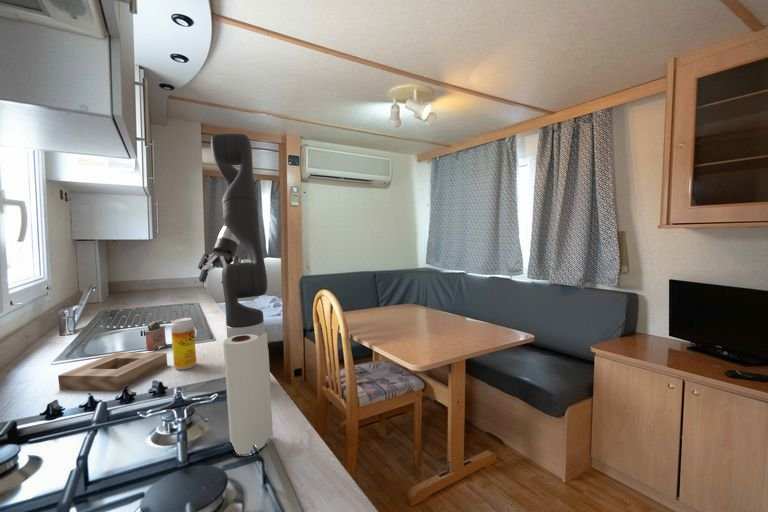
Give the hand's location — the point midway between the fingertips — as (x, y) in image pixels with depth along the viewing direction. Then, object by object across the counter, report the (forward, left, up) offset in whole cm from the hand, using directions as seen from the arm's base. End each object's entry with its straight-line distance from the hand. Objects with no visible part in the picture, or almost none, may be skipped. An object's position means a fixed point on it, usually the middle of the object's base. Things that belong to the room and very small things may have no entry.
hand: (212, 283), depth 120 cm
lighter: (+27, -4, -25) cm, 37 cm away
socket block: (+19, +21, -25) cm, 37 cm away
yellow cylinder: (+3, +13, -25) cm, 28 cm away
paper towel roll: (-39, +52, -25) cm, 69 cm away
